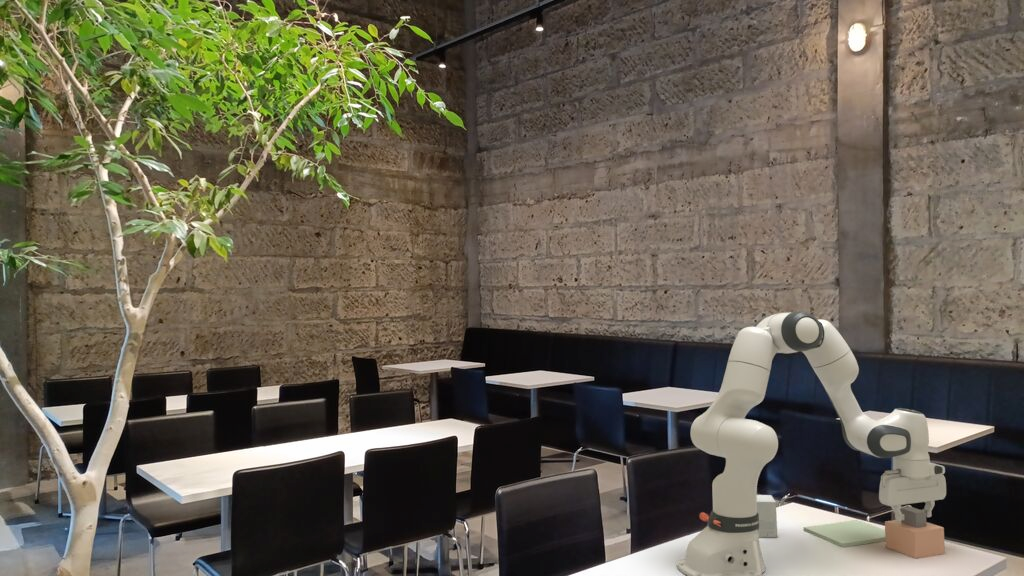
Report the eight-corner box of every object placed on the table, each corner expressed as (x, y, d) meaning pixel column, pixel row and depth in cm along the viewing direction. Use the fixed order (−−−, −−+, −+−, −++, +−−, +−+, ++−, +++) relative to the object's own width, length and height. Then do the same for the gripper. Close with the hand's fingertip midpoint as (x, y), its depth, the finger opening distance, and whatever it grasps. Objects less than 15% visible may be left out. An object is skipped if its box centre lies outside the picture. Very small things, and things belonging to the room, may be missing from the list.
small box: (777, 538, 210) (776, 501, 210) (757, 537, 211) (756, 501, 211) (773, 529, 218) (772, 494, 218) (753, 529, 219) (752, 494, 219)
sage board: (842, 547, 201) (842, 543, 201) (803, 530, 216) (803, 527, 216) (899, 538, 207) (899, 535, 207) (857, 523, 222) (857, 519, 222)
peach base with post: (915, 558, 191) (914, 516, 191) (885, 546, 200) (884, 507, 200) (944, 553, 194) (943, 512, 194) (913, 542, 203) (912, 503, 203)
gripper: (890, 473, 191) (892, 526, 191) (949, 466, 198) (951, 517, 197) (872, 468, 197) (874, 519, 197) (930, 462, 204) (932, 511, 203)
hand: (913, 518), depth 197 cm, fingers open, 8 cm apart
